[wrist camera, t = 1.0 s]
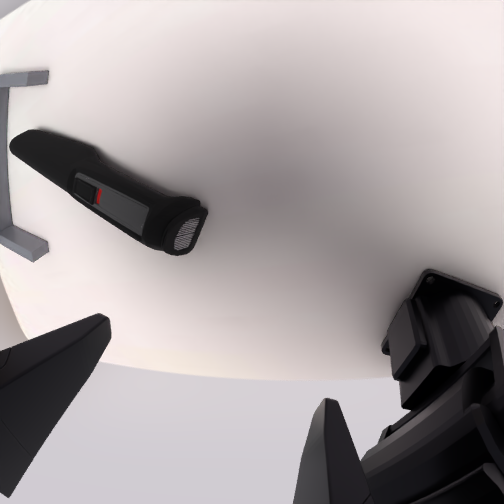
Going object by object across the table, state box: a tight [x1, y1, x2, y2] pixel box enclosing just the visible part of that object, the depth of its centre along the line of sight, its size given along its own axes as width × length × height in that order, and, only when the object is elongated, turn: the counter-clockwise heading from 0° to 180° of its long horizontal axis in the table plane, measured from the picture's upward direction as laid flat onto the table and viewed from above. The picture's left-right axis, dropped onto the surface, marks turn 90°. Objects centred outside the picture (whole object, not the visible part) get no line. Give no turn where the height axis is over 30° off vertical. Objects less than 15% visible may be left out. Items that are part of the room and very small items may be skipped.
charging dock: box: [0, 71, 49, 262], centre depth 19 cm, size 7×15×3 cm, turn 167°
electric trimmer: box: [9, 129, 208, 256], centre depth 18 cm, size 4×16×3 cm, turn 64°
